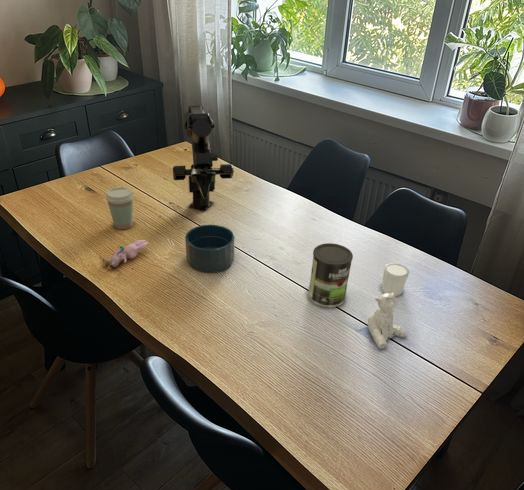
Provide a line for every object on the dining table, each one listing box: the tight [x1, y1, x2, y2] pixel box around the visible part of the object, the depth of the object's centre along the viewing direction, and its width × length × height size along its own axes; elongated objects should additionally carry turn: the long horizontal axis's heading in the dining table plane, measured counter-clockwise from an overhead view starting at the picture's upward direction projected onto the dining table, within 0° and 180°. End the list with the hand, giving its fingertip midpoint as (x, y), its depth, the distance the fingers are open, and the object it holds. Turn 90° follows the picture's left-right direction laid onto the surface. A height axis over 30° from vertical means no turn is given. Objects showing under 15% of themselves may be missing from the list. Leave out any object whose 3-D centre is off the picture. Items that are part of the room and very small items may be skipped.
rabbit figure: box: [102, 239, 150, 270], centre depth 146 cm, size 6×6×15 cm
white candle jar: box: [381, 262, 410, 297], centre depth 139 cm, size 7×7×7 cm
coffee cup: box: [105, 186, 134, 230], centre depth 160 cm, size 9×9×12 cm
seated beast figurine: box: [367, 293, 407, 350], centre depth 122 cm, size 10×9×12 cm
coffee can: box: [307, 242, 354, 309], centre depth 133 cm, size 10×10×14 cm
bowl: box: [184, 224, 236, 274], centre depth 147 cm, size 14×14×8 cm
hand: (205, 198), depth 155 cm, fingers closed
